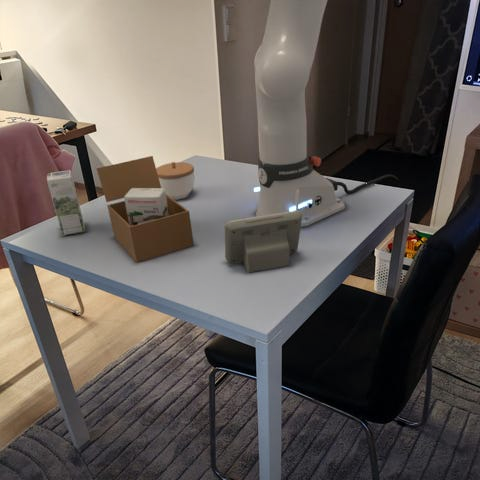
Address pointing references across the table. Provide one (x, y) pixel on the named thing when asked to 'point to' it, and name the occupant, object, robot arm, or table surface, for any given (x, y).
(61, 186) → the syrup box
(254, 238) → the digital clock
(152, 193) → the ink box
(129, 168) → the flap
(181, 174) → the trinket box
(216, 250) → the table surface
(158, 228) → the carton
